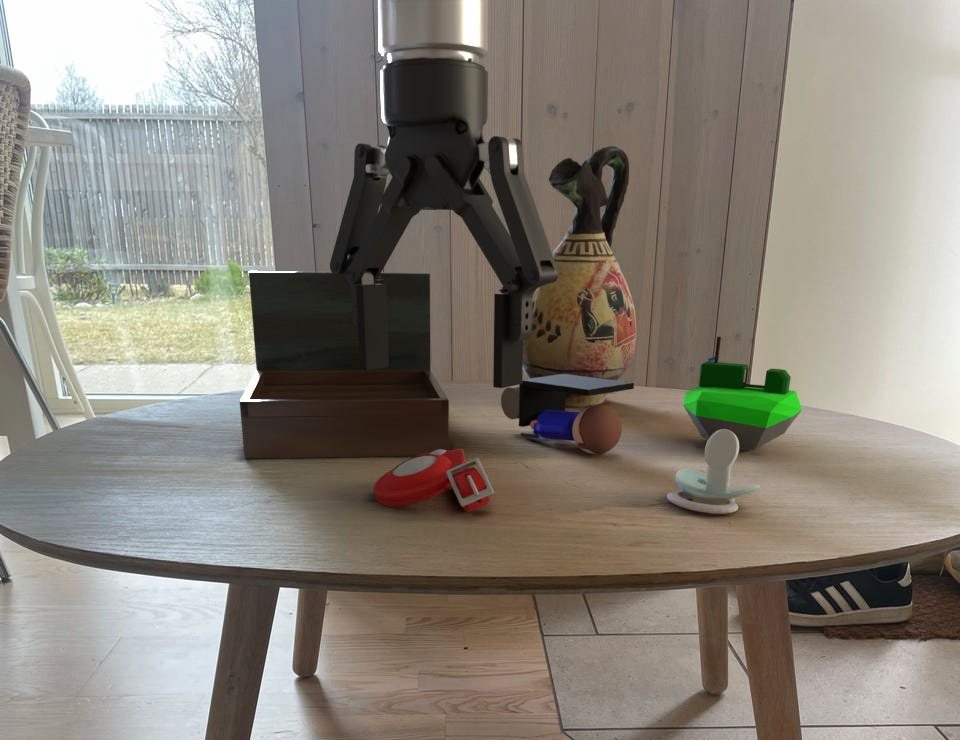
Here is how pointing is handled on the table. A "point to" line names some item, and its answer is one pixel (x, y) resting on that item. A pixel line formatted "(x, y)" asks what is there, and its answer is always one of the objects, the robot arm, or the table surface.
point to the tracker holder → (435, 480)
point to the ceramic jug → (585, 284)
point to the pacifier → (711, 478)
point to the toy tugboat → (741, 403)
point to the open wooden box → (339, 372)
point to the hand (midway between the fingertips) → (437, 377)
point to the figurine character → (547, 417)
